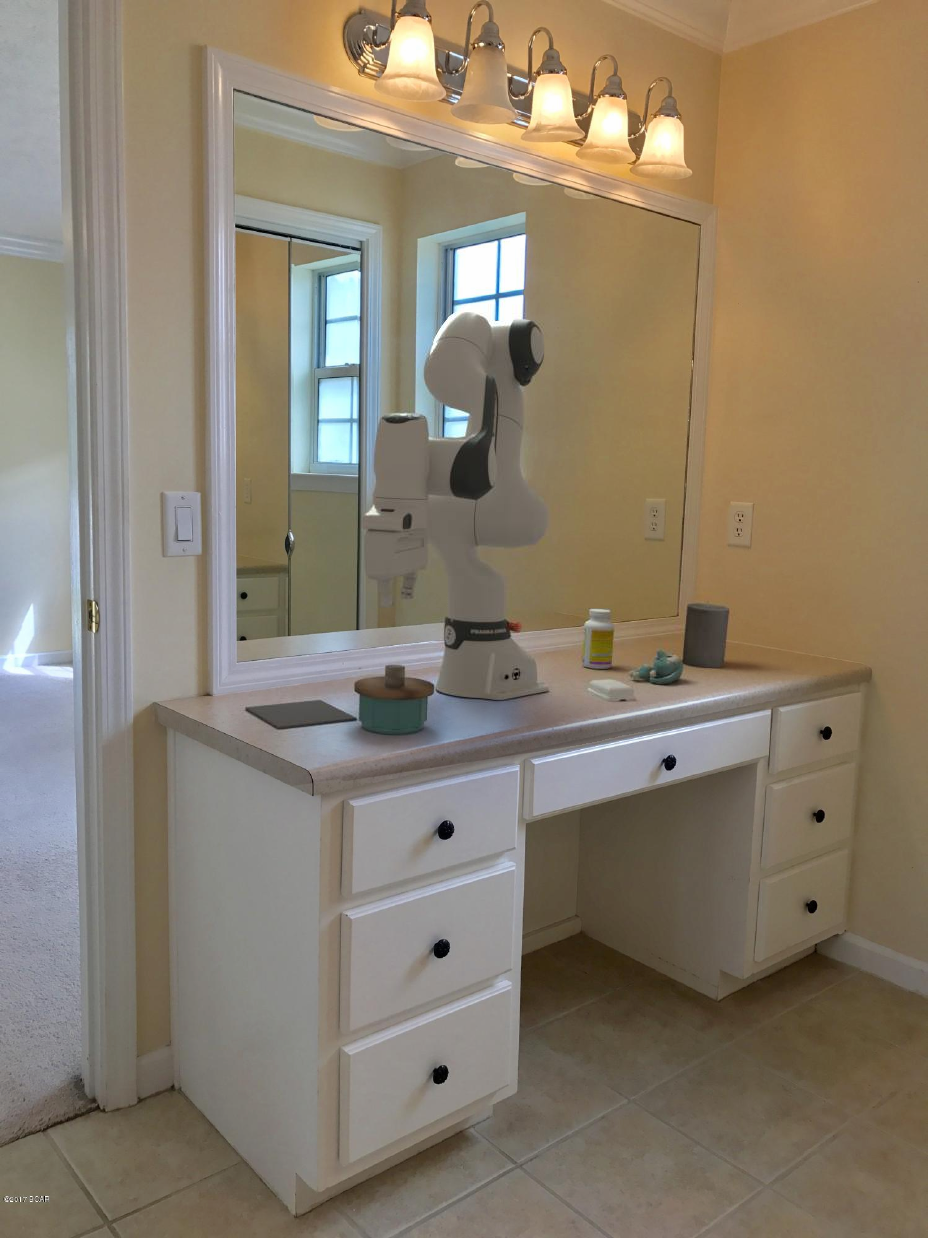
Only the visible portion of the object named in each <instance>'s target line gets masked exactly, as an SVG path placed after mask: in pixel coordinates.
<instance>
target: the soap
mask: <svg viewBox="0 0 928 1238" xmlns="http://www.w3.org/2000/svg"><path fill="white" fill-rule="evenodd" d="M634 692H635V690H634V688H633V687H631V686H629V685H628V684H625V683H623V682H621V681H618V680H615V679H594V680H591V681H590V682H589V686H588V688H587V689H586V693H588V694H590V695H592V696H593V697H596V698H598V699H600V700H603V701H606V702H620V701H621V700H625V701H635V700H636V699H637V698H636V696H635V694H634Z"/></svg>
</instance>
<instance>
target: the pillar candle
mask: <svg viewBox="0 0 928 1238" xmlns="http://www.w3.org/2000/svg"><path fill="white" fill-rule="evenodd" d="M709 602H710V601H709V600H707V603H703V602H702V603H701V602H700V603H699V602H697V603H695V602H693V603H688V604H687V607H686V616H685V627H684V628H685V629H684V639H683V650H682V659H681V661H682V662H683V665H687V666H691V667H696V668H705V669H718V668H722V667H723V668H724V666H725V657H726V648H727V635H728V626H729V617H730V615H729V614H730V608H729V607H727V606H724V605H719V604H712V603H711V604H710V603H709Z"/></svg>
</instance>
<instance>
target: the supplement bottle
mask: <svg viewBox="0 0 928 1238" xmlns="http://www.w3.org/2000/svg"><path fill="white" fill-rule="evenodd" d="M588 615H589V620H587V621H585V622H584V625H583V638H582V639H583V640H582V642H583V643H582V653H581V654H582V657H581V659H582V660H581V663H582V666H583V667H584V668H588V669H592V670H593V669H594V670H607V669H608V670H609V669H610V668H612V664H613V648H614V634H615V633H614V632H615V626H614V624H613V622H611V621H610V617H611V610H609V609H602V608H591V609H589V612H588Z"/></svg>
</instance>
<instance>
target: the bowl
mask: <svg viewBox="0 0 928 1238" xmlns="http://www.w3.org/2000/svg"><path fill="white" fill-rule="evenodd" d="M428 700H429V696H428V697H425V698H420V699H411V700H387V699H377V698H371V697H366V696H363V695H360V694H359V700H358V701H359V702H358V705H359V706H358V721H359V722H361V728H362V729H364V730H365V731H366V732H370V733H374V734H381V735H387V736H388V735H391V736H392V735H393V736H396V735H397V736H401V735H409V734H410V735H411V734H416V733H419V732H421V731H423V730H424V728H425V723H426V721H427V720H428V704H429V703H428V702H429V701H428Z"/></svg>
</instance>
